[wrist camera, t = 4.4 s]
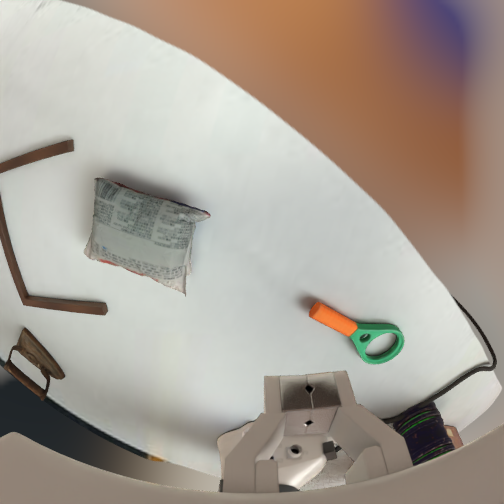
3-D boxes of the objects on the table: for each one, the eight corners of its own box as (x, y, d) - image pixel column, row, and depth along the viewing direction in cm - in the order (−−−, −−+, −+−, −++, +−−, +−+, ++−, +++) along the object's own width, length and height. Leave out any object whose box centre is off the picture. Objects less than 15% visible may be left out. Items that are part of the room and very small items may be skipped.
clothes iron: (22, 321, 33) (3, 366, 25) (74, 355, 39) (64, 402, 31) (15, 340, 35) (-1, 381, 26) (62, 370, 40) (53, 413, 32)
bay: (73, 139, 22) (67, 140, 21) (108, 310, 30) (104, 315, 30) (-8, 167, 22) (-13, 169, 22) (26, 301, 31) (23, 305, 30)
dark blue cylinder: (422, 397, 38) (449, 460, 25) (442, 404, 40) (466, 457, 27) (383, 426, 42) (401, 487, 28) (407, 430, 44) (424, 483, 30)
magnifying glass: (409, 334, 32) (414, 342, 30) (378, 363, 34) (382, 372, 32) (330, 283, 28) (334, 292, 27) (295, 322, 30) (297, 332, 29)
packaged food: (190, 283, 28) (179, 310, 24) (92, 246, 27) (68, 266, 22) (215, 205, 25) (206, 220, 21) (104, 169, 24) (76, 177, 19)
